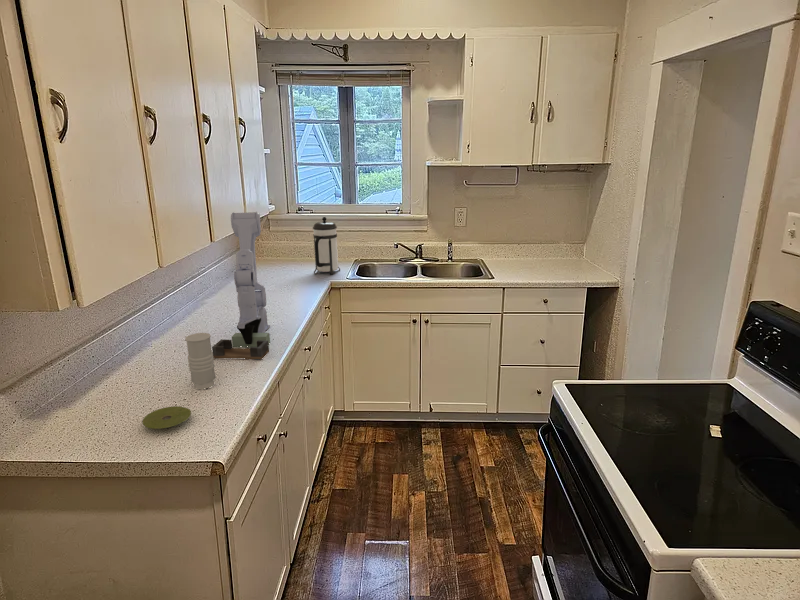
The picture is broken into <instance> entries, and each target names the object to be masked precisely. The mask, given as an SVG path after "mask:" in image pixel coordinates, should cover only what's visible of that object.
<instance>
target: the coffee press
mask: <svg viewBox="0 0 800 600" xmlns="http://www.w3.org/2000/svg"><path fill="white" fill-rule="evenodd" d="M321 219H322V221H318V222H317V221H316V222H315V223H313V226H312V230H313V235H312V238H313V244H314V245H313V246H314V261H315V265H314V266H315V270H314V271H313V273H314V274H315V275H317V274H318V273H319V272H321V273H322V272H323V273H329V274H330V276H334V275H335V273H334V272H335V271H338V272H340V271H341V268H340V267H339V259H338V258H339V257H338V233H337V228H338V226H337V225H336V223H335V222H333V221H330V220H329V221H328V220H327V217H326V216H322V218H321Z"/></svg>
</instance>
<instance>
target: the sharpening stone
mask: <svg viewBox="0 0 800 600" xmlns="http://www.w3.org/2000/svg"><path fill="white" fill-rule="evenodd" d="M258 340H264V341H268V345H269V346H270V344H271V337H270V332H264V333H253V335H252V344H245V341H244V339H243V336H242V334H241V332H235V333H234V334H232V336H231V341H232V348H250V347H257V341H258ZM269 343H270V344H269ZM240 346H242V347H240ZM247 346H248V347H247Z"/></svg>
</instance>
